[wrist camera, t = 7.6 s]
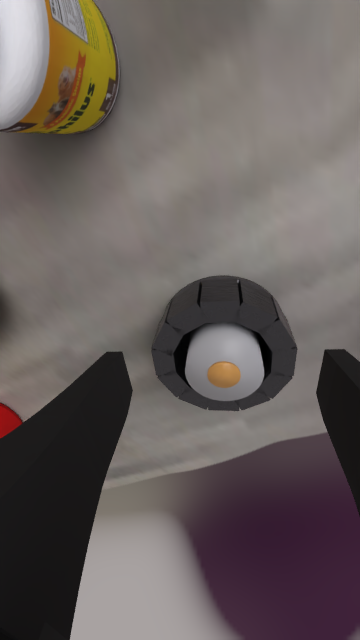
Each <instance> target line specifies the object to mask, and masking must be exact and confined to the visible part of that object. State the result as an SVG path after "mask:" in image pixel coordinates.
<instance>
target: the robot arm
mask: <svg viewBox="0 0 360 640" xmlns="http://www.w3.org/2000/svg"><path fill="white" fill-rule="evenodd" d="M132 391H133V390H132V386H131V383H130V379H129V375H128V371H127V368H126V364H125V360H124V357H123V353H122V352H106V353H105V354H104V355H103V356H102V357H100V358H99V359H98V360H97V361H96V362H95V363H94V364H93V365H92V366H91V367H90V368H88V369H87V370H86V371H85V372H84V373H83V374H82V375H81V376H80V377H79V378H77V379H76V380H75V381H74V382H73V383H72V384H71V385H70V386H69V387H68V388H66V389H65V390H64V391H63V392H62V393H60V394H59V395H58V396H57V397H56V398H54V399H53V400H52V401H51V402H50V403H48V404H47V405H46V406H45V407H44V408H42V409H41V410H40V411H38V412H37V413H36V414H35V415H33V416H32V417H31V418H29V419H28V420H27V421H25V422H24V423H22V424H21V425H20V426H18V427H17V428H15V429H14V430H13V431H11V432H10V433H8V434H7V435H5V436H4V437H2V438H0V640H70V635H71V629H72V623H73V618H74V613H75V607H76V602H77V597H78V591H79V586H80V581H81V576H82V571H83V567H84V562H85V557H86V553H87V547H88V543H89V539H90V535H91V531H92V526H93V522H94V518H95V514H96V510H97V506H98V502H99V498H100V494H101V490H102V486H103V483H104V480H105V477H106V474H107V471H108V468H109V465H110V462H111V460H112V457H113V454H114V451H115V448H116V446H117V443H118V440H119V437H120V435H121V432H122V429H123V426H124V423H125V420H126V417H127V414H128V410H129V406H130V401H131V396H132ZM316 394H317V398H318V402H319V406H320V410H321V414H322V417H323V421H324V423H325V426H326V428H327V431H328V433H329V436H330V439H331V441H332V444H333V446H334V448H335V451H336V453H337V456H338V458H339V461H340V463H341V466H342V468H343V471H344V473H345V475H346V478H347V481H348V483H349V486H350V488H351V491H352V494H353V497H354V499H355V502H356V505H357V509H358V512H359V515H360V362H359V361H358V360H357V359H356V358H354V357H353V356H352V355H351V354H350V353H348V352H347V351H346V350H344V349H334V350H325V352H324V357H323V362H322V367H321V371H320V376H319V381H318V386H317V391H316Z"/></svg>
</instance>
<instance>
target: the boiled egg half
mask: <svg viewBox="0 0 360 640" xmlns="http://www.w3.org/2000/svg"><path fill="white" fill-rule="evenodd" d="M185 375H186V379H187V381H188V383H189V384H190V386H191V387H192V388H193V389H194V390H195V391H196V392H198V393H199V394H201V395H202V396H205V397H207V398H210V399H213V400H218V401H233V400H239V399H242V398H244V397H247V396H249V395H250V394H252V393H253V392H255V391H256V390H257V389H258V388H259V386H260V385H261V383H262V381H263V378H264V367H263V361H262V356H261V351H260V345H259V340H258V335H257V332H256V331H253V330H251V329H249V328H247V327H245V326H242V325H240V324H238V323H236V322H220V323H205V324H203V325H201V326H199V327H197V328H196V329H194V330H192V331H191V334H190V341H189V347H188V354H187V360H186V367H185Z"/></svg>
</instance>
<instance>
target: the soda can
mask: <svg viewBox="0 0 360 640" xmlns="http://www.w3.org/2000/svg"><path fill="white" fill-rule="evenodd" d="M21 424H22V421H21V419H20V418H19V416H18V415H17V414H16V413H15V412H14V411H12V410H11V409H10V408H8V407H7V406H5V405H3V404H2V403H0V438H2V437H4V436H5V435H7V434H8V433H10V432H11V431H13V430H14V429H15V428H17V427H18V426H20V425H21Z"/></svg>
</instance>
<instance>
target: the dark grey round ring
mask: <svg viewBox="0 0 360 640" xmlns="http://www.w3.org/2000/svg"><path fill="white" fill-rule="evenodd" d="M220 322H236V323H238V324H240V325H242V326H245V327H247V328H249V329H251V330H253V331H256V332H257V335H258V340H259V345H260V351H261V356H262V361H263V367H264V378H263V381H262V383H261V385H260V386H259V388H258V389H257V390H256V391H255V392H253V393H252V394H250V395H249V396H247V397H244V398H242V399H239V400H233V401H218V400H213V399H210V398H207V397H205V396H202V395H201V394H199V393H198V392H196V391H195V390H194V389H193V388H192V387H191V386H190V384H189V383H188V381H187V379H186V375H185V367H186V360H187V354H188V347H189V341H190V334H191V331H192V330H194V329H196V328H197V327H199V326H201V325H203V324H205V323H220ZM151 351H152V356H153V361H154V366H155V371H156V375H158V379H159V380H160V381H161V382H162V383H163V384H164V385H165V386H166V387H167V388H168V389H169V390H170V391H171V392H172V393H173V394H174V395H175V396H176V397H178V396H179V399H181V400H183V401H186V402H188V403H191V404H193V405H196V406H198V407H201V408H203V409H207V407H208V409H209V410H227V411H239V407H240V409H241V410H244V409H247V408H250V407H253V406H255V405H258V404H261V403H264V402H266V401H269V400H270V398H272V399H273V398H274V397H275V396H276V395H277V394H278V393H279V392H280V390H281V389H282V388H283V387H284V386H285V385H286V384H287V383H288V382H289V381H290V380H291V379H292V376H294V369H295V361H296V354H297V347H296V343H295V340H294V337H293V335H292V332H291V329H290V327H289V324H288V321H287V319H286V317H285V316H284V314H283V312H282V310H281V308H280V306H279V304H278V302H277V301H276V300H275V298H274V297H273V296H272V295H271V294H270V293H269V292H268V291H267V290H265V289H264V288H263V287H262V286H260V285H258V284H256V283H254V282H252V281H249V280H247V279H244V278H240V277H234V276H212V277H207V278H203V279H200V280H197V281H195V282H193V283H191V284H189V285H187V286H186V287H184V288H183V289H181V290H180V291H179V292H178V293H177V294H176V295H175V296H174V297H173V298H172V299H171V301H170V302H169V304H168V306H167V308H166V310H165V313H164V315H163V317H162V319H161V321H160V324H159V327H158V330H157V333H156V336H155V339H154V342H153V345H152V350H151Z"/></svg>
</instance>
